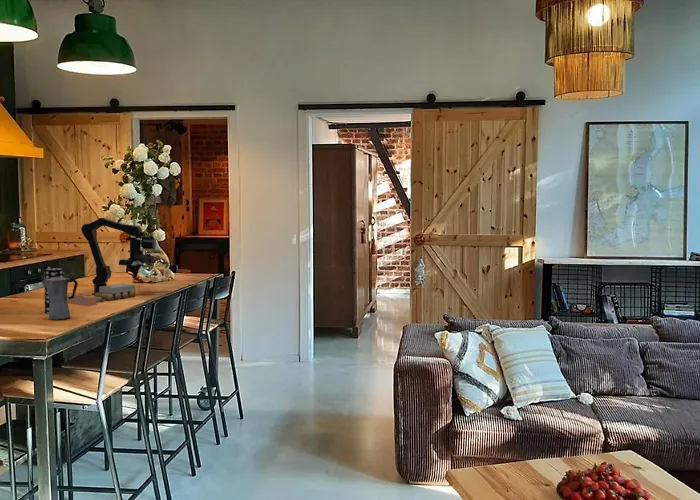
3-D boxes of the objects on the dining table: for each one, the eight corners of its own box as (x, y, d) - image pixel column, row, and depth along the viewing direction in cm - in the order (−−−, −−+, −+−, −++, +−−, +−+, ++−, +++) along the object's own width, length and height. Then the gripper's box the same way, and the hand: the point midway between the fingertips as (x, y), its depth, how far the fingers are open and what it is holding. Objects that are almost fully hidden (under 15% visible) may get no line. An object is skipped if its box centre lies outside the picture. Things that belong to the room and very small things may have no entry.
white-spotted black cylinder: (68, 311, 307) (67, 268, 305) (55, 314, 299) (54, 270, 297) (54, 310, 309) (53, 267, 308) (40, 312, 302) (39, 269, 300)
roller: (84, 298, 335) (88, 294, 337) (87, 302, 337) (91, 298, 339) (95, 300, 331) (99, 295, 333) (98, 304, 333) (102, 299, 335)
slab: (99, 292, 344) (99, 286, 344) (122, 288, 358) (122, 283, 358) (111, 293, 340) (111, 288, 339) (134, 290, 354) (134, 284, 354)
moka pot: (46, 316, 293) (45, 271, 292) (82, 316, 295) (81, 272, 293) (38, 320, 284) (37, 274, 282) (75, 320, 285) (74, 274, 284)
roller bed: (78, 302, 333) (78, 295, 333) (121, 295, 358) (121, 288, 358) (92, 303, 329) (92, 297, 328) (135, 296, 354) (135, 290, 353)
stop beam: (65, 303, 330) (65, 294, 329) (74, 301, 334) (73, 292, 334) (88, 305, 322) (88, 296, 322) (96, 304, 327) (96, 295, 326)
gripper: (133, 250, 347) (133, 280, 348) (158, 248, 363) (158, 276, 364) (118, 249, 352) (118, 278, 353) (143, 247, 368) (143, 275, 370)
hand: (135, 277), depth 360 cm, fingers closed
